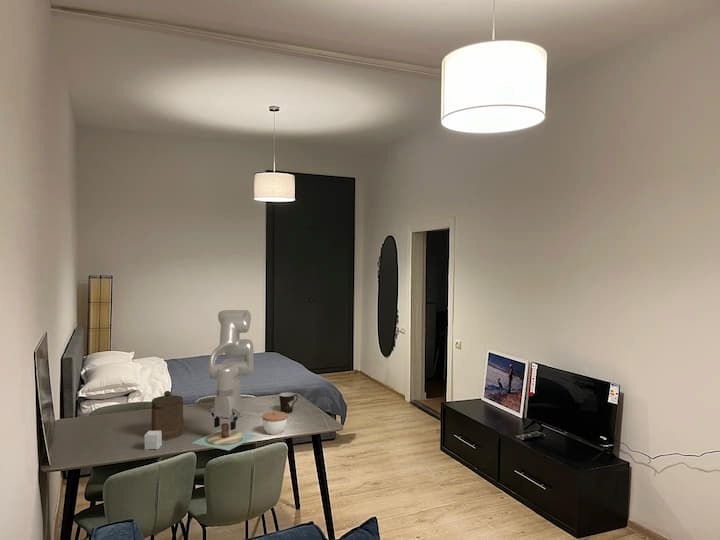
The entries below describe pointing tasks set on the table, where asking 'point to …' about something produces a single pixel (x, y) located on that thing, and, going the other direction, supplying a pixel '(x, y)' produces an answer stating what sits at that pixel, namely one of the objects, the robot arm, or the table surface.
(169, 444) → the table surface
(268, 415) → the lidded bowl
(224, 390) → the robot arm
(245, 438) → the rubber mat
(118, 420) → the table surface
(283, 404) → the coffee mug
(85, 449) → the table surface
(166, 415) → the wooden container
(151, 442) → the skincare box
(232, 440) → the maple lid
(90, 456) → the table surface
